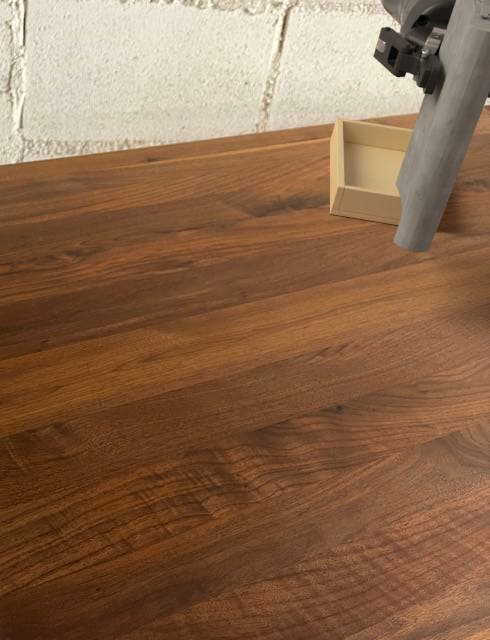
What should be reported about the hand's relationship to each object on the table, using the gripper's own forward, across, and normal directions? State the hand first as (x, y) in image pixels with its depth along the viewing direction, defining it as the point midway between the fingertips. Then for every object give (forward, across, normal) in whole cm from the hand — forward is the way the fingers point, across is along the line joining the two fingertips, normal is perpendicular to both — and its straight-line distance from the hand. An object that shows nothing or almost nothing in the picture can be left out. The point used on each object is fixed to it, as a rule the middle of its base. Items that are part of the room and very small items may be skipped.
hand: (458, 86), depth 76 cm
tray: (-22, 0, +18) cm, 28 cm away
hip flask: (+1, 0, +11) cm, 11 cm away
